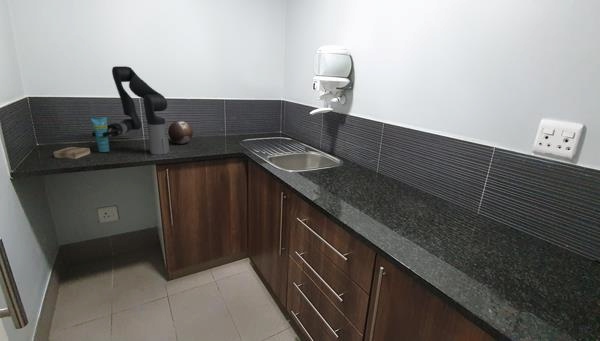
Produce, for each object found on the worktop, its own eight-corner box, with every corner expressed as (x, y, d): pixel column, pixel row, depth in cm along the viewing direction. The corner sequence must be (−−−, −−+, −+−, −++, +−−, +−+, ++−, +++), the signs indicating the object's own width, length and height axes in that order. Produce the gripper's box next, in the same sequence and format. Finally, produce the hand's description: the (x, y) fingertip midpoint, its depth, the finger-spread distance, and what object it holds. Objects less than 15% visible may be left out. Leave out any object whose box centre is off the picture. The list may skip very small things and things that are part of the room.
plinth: (90, 153, 161) (89, 147, 160) (75, 158, 150) (74, 152, 149) (70, 152, 161) (69, 146, 160) (54, 157, 150) (53, 151, 149)
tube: (97, 153, 160) (91, 118, 154) (95, 151, 163) (89, 117, 157) (113, 151, 165) (107, 117, 159) (111, 149, 168) (105, 116, 162)
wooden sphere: (180, 147, 184) (179, 123, 179) (164, 143, 189) (161, 121, 185) (198, 143, 196) (196, 121, 192) (182, 139, 202) (180, 118, 198)
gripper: (104, 122, 173) (83, 127, 157) (128, 123, 173) (110, 128, 157) (106, 134, 175) (86, 140, 159) (129, 135, 176) (112, 142, 160)
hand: (98, 134), depth 158 cm, fingers closed on tube, 5 cm apart
